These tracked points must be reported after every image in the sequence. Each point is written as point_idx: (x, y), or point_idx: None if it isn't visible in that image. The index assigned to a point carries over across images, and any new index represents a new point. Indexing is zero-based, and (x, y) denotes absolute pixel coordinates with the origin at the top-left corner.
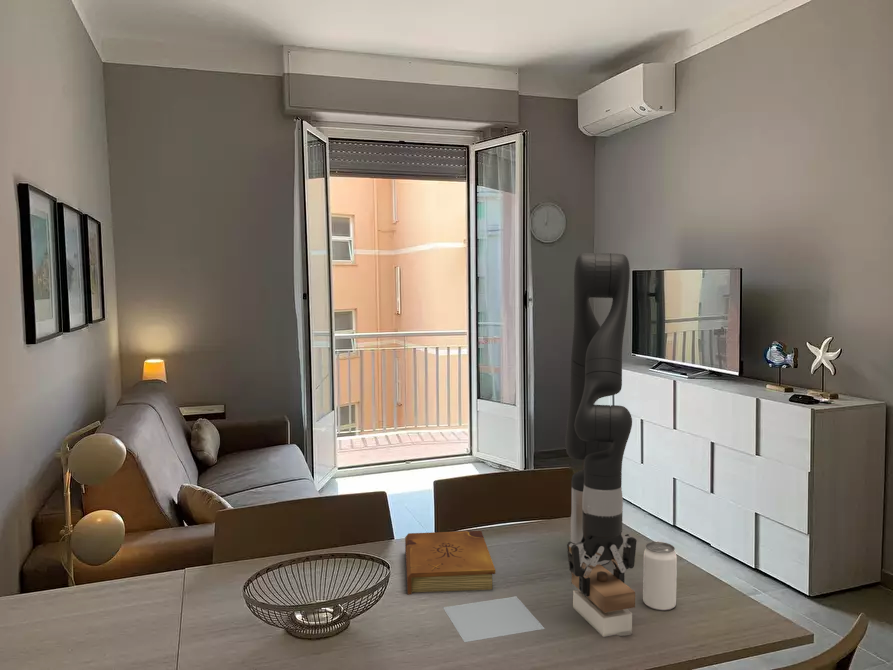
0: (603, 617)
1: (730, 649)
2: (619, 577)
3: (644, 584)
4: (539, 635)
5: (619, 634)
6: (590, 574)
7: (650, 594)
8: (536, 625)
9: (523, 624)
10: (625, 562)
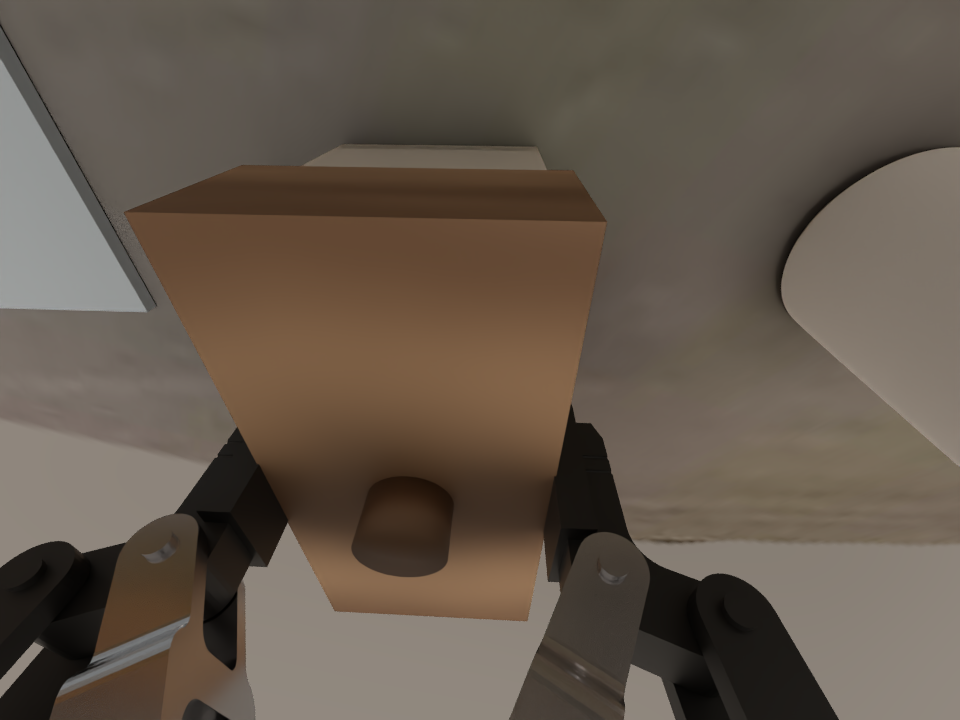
0: None
1: (725, 538)
2: (546, 548)
3: (892, 290)
4: (133, 326)
5: None
6: (343, 416)
7: (827, 324)
8: (100, 274)
9: (23, 245)
10: (664, 671)
